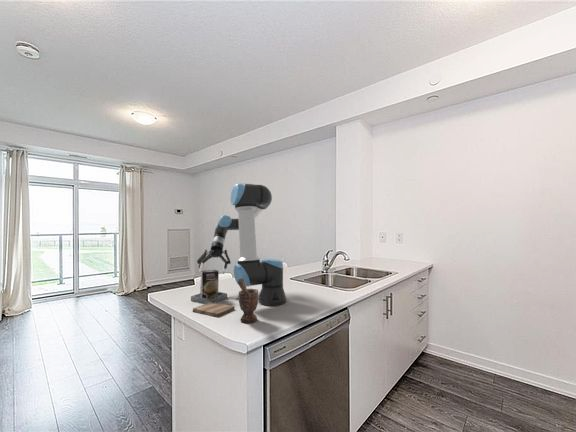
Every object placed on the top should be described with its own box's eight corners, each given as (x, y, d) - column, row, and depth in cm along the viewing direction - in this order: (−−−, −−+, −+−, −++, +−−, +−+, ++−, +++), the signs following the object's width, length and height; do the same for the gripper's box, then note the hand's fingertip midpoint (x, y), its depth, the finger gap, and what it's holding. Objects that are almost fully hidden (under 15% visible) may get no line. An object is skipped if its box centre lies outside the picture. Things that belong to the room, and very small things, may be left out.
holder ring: (227, 297, 155) (227, 293, 155) (209, 304, 143) (209, 299, 143) (209, 294, 162) (209, 290, 162) (190, 300, 150) (190, 296, 150)
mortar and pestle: (256, 327, 113) (256, 279, 113) (235, 327, 113) (235, 279, 113) (259, 317, 124) (259, 273, 124) (240, 317, 124) (240, 273, 124)
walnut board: (234, 309, 135) (234, 306, 135) (217, 317, 124) (217, 313, 124) (210, 304, 142) (210, 301, 143) (192, 311, 132) (192, 308, 132)
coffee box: (202, 301, 148) (202, 272, 148) (200, 298, 153) (200, 270, 153) (218, 299, 152) (218, 270, 152) (216, 296, 157) (216, 269, 158)
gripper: (237, 248, 178) (233, 276, 162) (199, 248, 177) (191, 276, 162) (236, 241, 172) (231, 269, 157) (197, 241, 172) (188, 269, 157)
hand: (211, 272), depth 160 cm, fingers open, 13 cm apart
